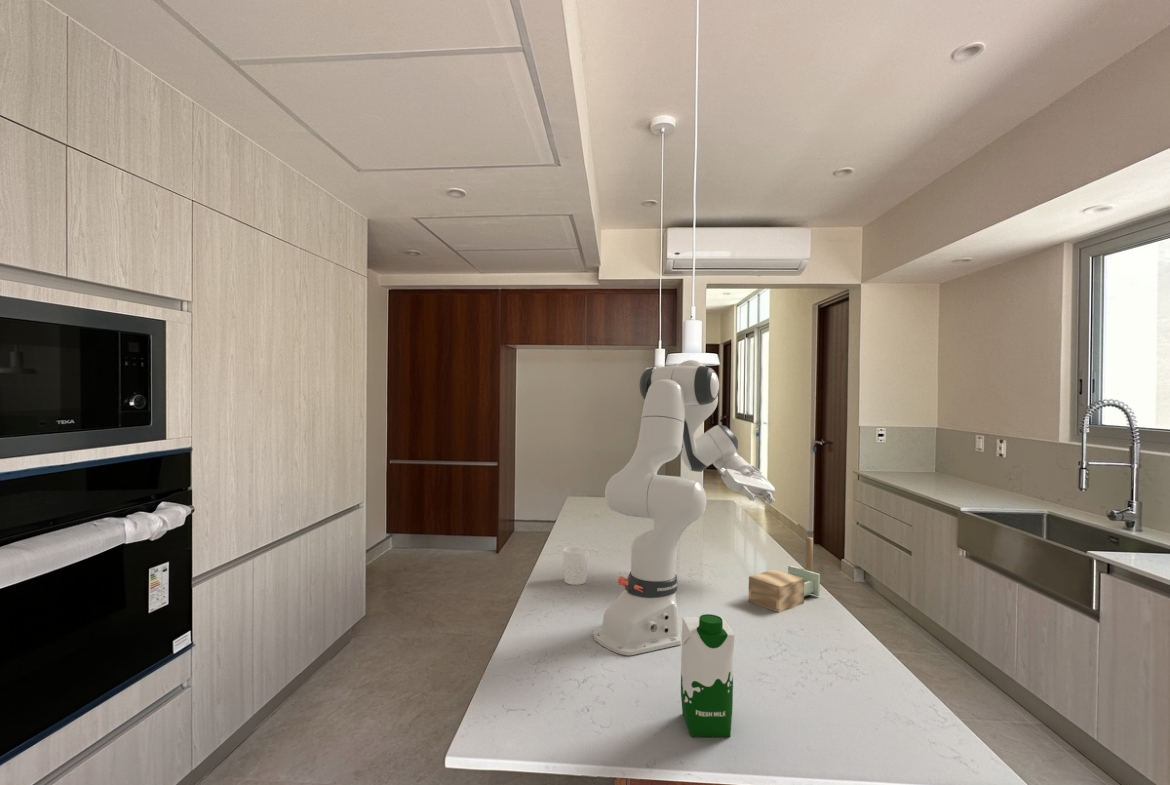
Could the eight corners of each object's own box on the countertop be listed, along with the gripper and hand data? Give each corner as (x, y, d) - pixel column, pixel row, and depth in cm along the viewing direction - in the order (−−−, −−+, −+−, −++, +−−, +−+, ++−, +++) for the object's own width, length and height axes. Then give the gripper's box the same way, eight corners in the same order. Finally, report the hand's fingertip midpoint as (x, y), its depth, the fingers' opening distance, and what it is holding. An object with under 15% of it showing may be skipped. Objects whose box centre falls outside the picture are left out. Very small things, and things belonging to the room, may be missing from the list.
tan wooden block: (778, 612, 151) (779, 586, 151) (748, 600, 159) (748, 576, 159) (803, 603, 159) (804, 578, 159) (773, 592, 167) (773, 569, 167)
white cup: (588, 577, 177) (589, 546, 177) (586, 586, 169) (587, 553, 169) (564, 576, 178) (564, 545, 178) (560, 585, 170) (561, 552, 170)
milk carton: (686, 740, 95) (688, 624, 95) (676, 710, 104) (678, 603, 104) (737, 740, 95) (739, 624, 95) (722, 710, 104) (724, 604, 104)
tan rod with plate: (796, 604, 156) (797, 549, 156) (765, 593, 164) (766, 541, 164) (825, 593, 165) (826, 541, 165) (795, 583, 173) (796, 533, 173)
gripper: (721, 459, 175) (747, 488, 165) (762, 470, 186) (789, 497, 176) (710, 474, 178) (735, 504, 167) (752, 484, 189) (777, 512, 178)
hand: (763, 501), depth 171 cm, fingers open, 8 cm apart
